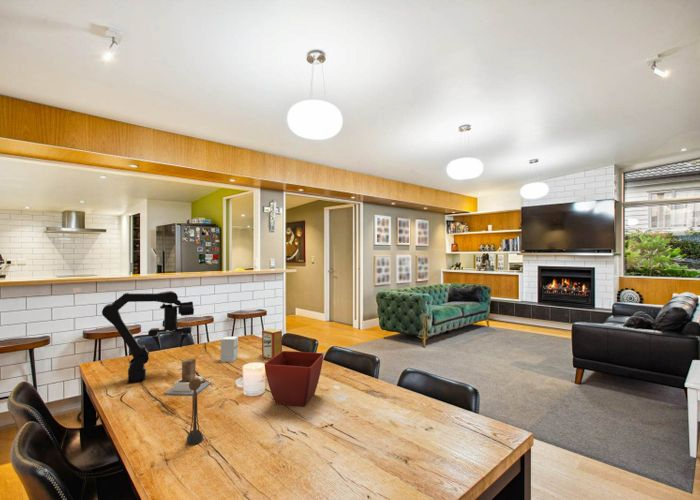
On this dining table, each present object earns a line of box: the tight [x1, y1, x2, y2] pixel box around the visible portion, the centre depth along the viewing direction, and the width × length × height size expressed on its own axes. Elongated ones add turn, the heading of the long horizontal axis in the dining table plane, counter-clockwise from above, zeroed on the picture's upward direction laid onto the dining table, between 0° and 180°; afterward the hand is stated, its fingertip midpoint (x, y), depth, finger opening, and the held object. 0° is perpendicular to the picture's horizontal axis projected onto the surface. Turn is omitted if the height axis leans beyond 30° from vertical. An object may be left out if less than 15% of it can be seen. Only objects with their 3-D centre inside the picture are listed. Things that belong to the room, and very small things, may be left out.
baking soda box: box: [261, 328, 283, 361], centre depth 200 cm, size 10×6×16 cm
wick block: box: [181, 358, 196, 382], centre depth 154 cm, size 4×4×12 cm
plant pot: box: [264, 350, 324, 407], centre depth 142 cm, size 19×19×17 cm
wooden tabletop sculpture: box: [185, 378, 207, 446], centre depth 111 cm, size 6×5×20 cm
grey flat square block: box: [163, 375, 212, 396], centre depth 154 cm, size 14×14×4 cm
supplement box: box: [220, 336, 239, 363], centre depth 196 cm, size 7×7×13 cm
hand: (170, 348), depth 172 cm, fingers open, 9 cm apart
